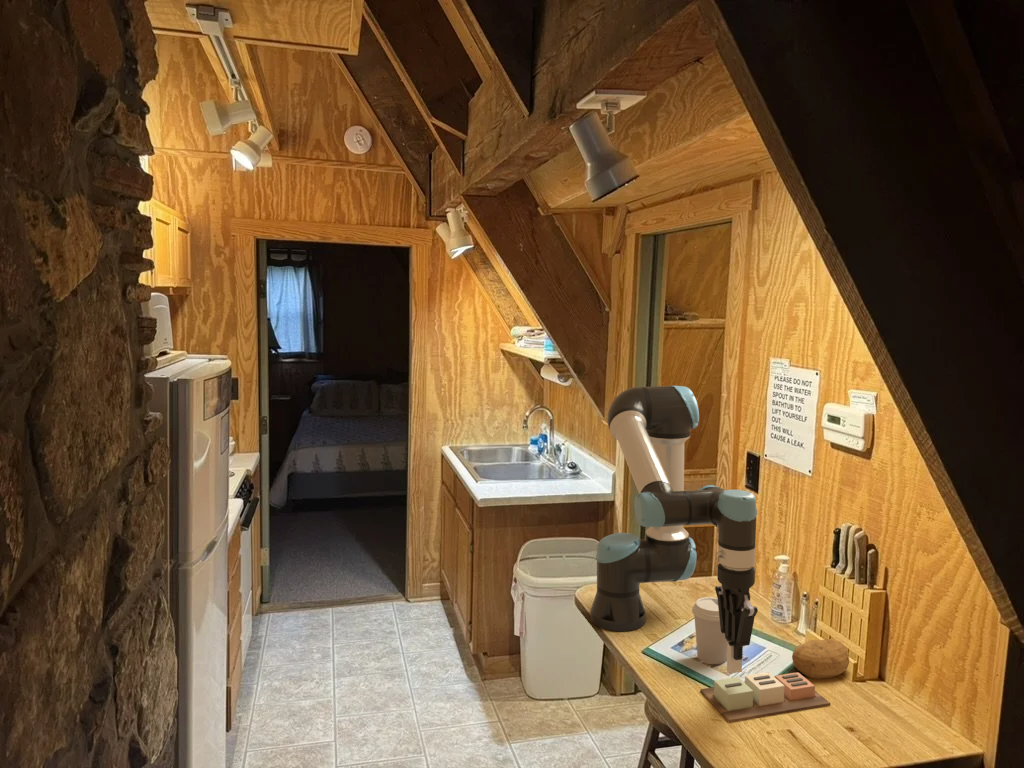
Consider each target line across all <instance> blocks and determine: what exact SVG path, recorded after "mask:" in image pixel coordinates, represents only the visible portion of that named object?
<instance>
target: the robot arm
mask: <svg viewBox="0 0 1024 768" xmlns="http://www.w3.org/2000/svg"><path fill="white" fill-rule="evenodd" d="M699 410H700V409H699V406H698V401H697V399H696V397H695V395H694V393H693V391H692V390H691V388H689V387H687V386H684V385H682V386H681V385H660V386H658V385H657V386H633V387H630V388H627V389H625V390H623V391H621V392H620V393H619V394H618V395H617V396H616V397H615V398H614V400H613V401H612V402H611V404H610V406H609V408H608V412H607V420H606V422H607V427H608V430H609V432H610V434H611V436H612V437H613V438H614V439H616V440H617V442H618V444H619V447H620V450H621V452H622V455H623V457H624V459H625V462H626V464H627V467H628V469H629V472H630V475H631V477H632V480H633V482H634V485H635V487H636V490H637V492H638V493H637V495H635V497H634V502H633V504H634V505H633V506H634V507H633V508H634V514H635V520H636V522H637V523H638V525H640V526H641V527H642V528H643V527H644V528H647V529H646V530H645V538H642V539H641V538H640V537H639V536H638V535H637V534H635V533H631V532H629V533H627V532H617V533H612V534H609V535H606V536H604V537H603V538H601V539H600V540H599V541H598V542H597V546H596V556H595V559H596V592H595V593H596V594H595V596H594V599H593V602H592V606H591V608H590V621H591V622H592V623H593V625H595V626H596V627H599V628H601V629H603V630H607V631H610V632H611V631H612V632H629V631H631V632H632V631H634V630H638V629H640V628H642V627H643V626H645V624H646V621H647V619H646V617H647V614H646V609H645V606H644V603H643V600H642V598H641V594H640V584H645V583H646V584H647V583H664V582H666V583H667V582H671V583H675V582H678V581H679V582H680V581H686V580H688V579H690V578H691V576H693V574H694V573H695V570H696V566H697V558H698V557H697V555H698V554H697V551H696V549H697V547H696V546H697V545H696V543H695V541H694V539H693V538H692V537H690V534H689V532H688V531H687V530H686V529H685V527H684V526H699V525H714V526H715V527H716V528H717V529H718V531H717V533H718V534H717V544H718V545H717V546H718V547H717V552H716V553H717V562H718V564H717V582H719V584H721V585H718V586H717V585H716V586H715V588H714V590H715V594H716V598H718V608H719V618H720V628H721V632H722V633H725V638H726V640H727V656H726V671H727V672H728V673H729V674H737V673H743V669H742V668H743V652H744V651H743V647H744V646H750V644H751V639H752V633H753V627H754V622H755V617H756V615H757V613H758V611H759V609H758V607H757V606H753V604H751V593H750V589H751V588H752V587H753V586H754V585H755V582H756V568H755V565H756V551H757V550H756V538H757V516H758V510H757V498H756V496H755V495H754V493H751V492H750V491H745V490H743V489H726V490H725V489H724V488H721V487H720V486H716V485H714V484H707V485H704V486H703V487H700V488H699V489H698V490H697V489H696V490H685V443H686V442H687V440H689V439H690V438H691V430H694V429H696V428H697V427H698V426H699V422H700V412H699Z"/></svg>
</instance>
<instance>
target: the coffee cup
mask: <svg viewBox="0 0 1024 768" xmlns="http://www.w3.org/2000/svg"><path fill="white" fill-rule="evenodd" d="M691 611H692V613H693V617H694V626H695V641H696V655H697V658H698V659H699V660H700V661H701V662H703V663H705V664H709V665H720V664H723V663H725V662H727V640H726V638H725V633H722V632H721V628H720V618H719V608H718V598H717V597H712V596H710V597H709V596H705V597H700V598H698V599H697V600H695V603H694V604H693V606H692V610H691Z"/></svg>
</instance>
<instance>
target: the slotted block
mask: <svg viewBox="0 0 1024 768" xmlns="http://www.w3.org/2000/svg"><path fill="white" fill-rule="evenodd" d="M744 682H745V681H743V680H742V679H741V678H740V676H735V677H729V678H722V679H716V680H714V681H713V683H714V684H713V685H714V686H713V687H714V698H715V699H716V700H717V701H718V702H719V703H720V704H721V705H722V706H723V707H724V708H725V709H726V710H727V711H733V710H739V709H745V708H751V707H753V690H752V689H751V688H750V687H748V686H747V685H746V684H745V683H744Z"/></svg>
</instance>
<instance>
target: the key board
mask: <svg viewBox="0 0 1024 768" xmlns="http://www.w3.org/2000/svg"><path fill="white" fill-rule="evenodd" d="M743 682H744V683H745V681H743ZM699 690H700V693H701V694H702V695H703V696H704V697H705V698H706V700H708V701H709V702H710V704H711V705H712V706H713V707H714V708H715V709H716V710H717V711H718V712H719V714H720V715H722V717H723V718H724V719H725V720H726V721H727V722H728V723H734V722H739V721H747V720H751V719H757V718H763V717H764V718H765V717H769V716H775V715H780V714H787V713H792V712H798V711H799V712H800V711H805V710H811V709H816V708H822V707H827V706H828V707H829V706H831V702H830V701H829V700H828V699H826V698H825V697H824V696H823V695H822V694H820V692H818V691H816V690H815V695H814V697H812V698H806V699H800V700H794V701H790V700H789V699H788V698H787V697H785V696H784V702H782V703H776V704H770V705H763V706H759V705H758V704H757V703H756V702H755V701H754V700H753V707H751V708H745V709H739V710H733V711H727V710H726V709H725V708H724V707H723V706H722V705H721V704H720V703H719V702H718V701H717V700H716V699H715V698H714V686H713V687H712V686H711V687H706V688H700V689H699Z"/></svg>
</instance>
